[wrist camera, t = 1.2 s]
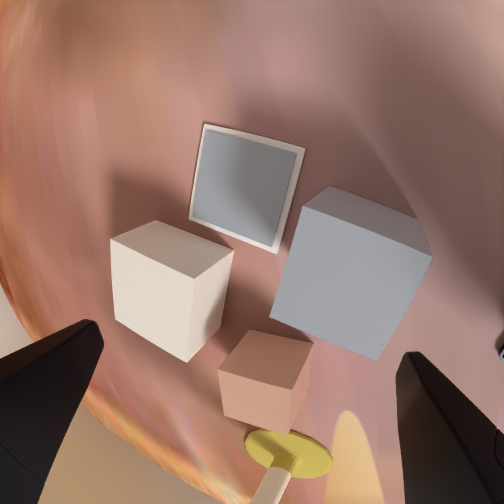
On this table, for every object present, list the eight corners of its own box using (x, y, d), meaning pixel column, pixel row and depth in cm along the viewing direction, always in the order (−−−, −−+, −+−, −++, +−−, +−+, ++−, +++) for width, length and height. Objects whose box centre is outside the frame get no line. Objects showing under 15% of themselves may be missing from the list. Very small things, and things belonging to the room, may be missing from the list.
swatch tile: (306, 148, 16) (304, 148, 16) (277, 253, 19) (275, 255, 19) (205, 123, 18) (202, 123, 18) (189, 218, 21) (186, 220, 21)
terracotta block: (313, 342, 21) (291, 390, 16) (308, 389, 22) (287, 435, 18) (249, 328, 23) (217, 369, 18) (251, 375, 24) (224, 415, 20)
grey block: (418, 219, 15) (433, 257, 10) (382, 299, 18) (376, 361, 12) (329, 185, 17) (302, 205, 12) (303, 267, 19) (269, 316, 14)
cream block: (235, 249, 21) (194, 279, 17) (221, 326, 24) (186, 362, 20) (157, 219, 23) (110, 238, 19) (154, 292, 26) (115, 319, 22)
